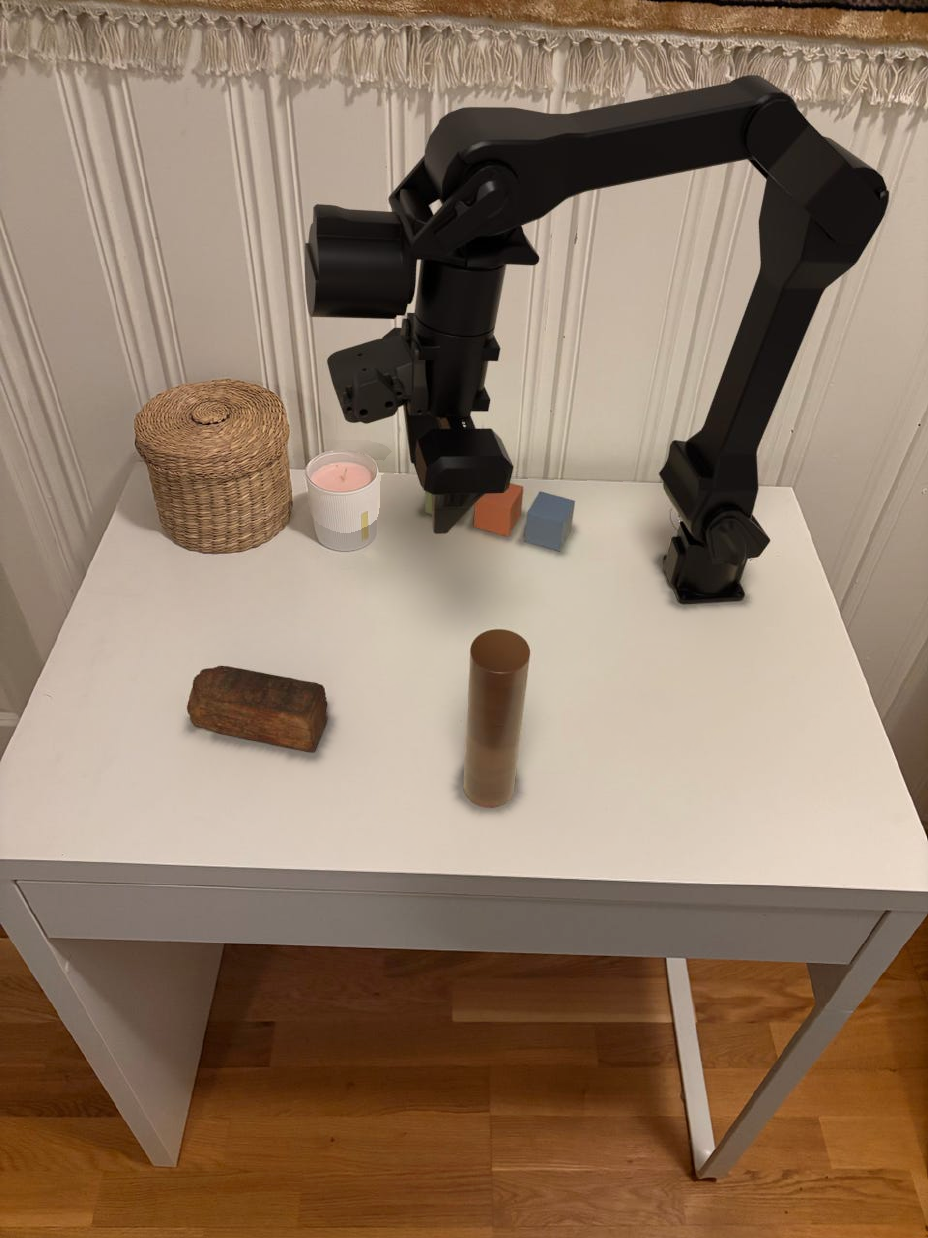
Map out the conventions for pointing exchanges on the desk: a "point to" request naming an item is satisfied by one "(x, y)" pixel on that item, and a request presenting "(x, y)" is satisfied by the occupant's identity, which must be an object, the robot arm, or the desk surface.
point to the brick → (259, 707)
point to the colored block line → (503, 510)
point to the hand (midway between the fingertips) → (428, 496)
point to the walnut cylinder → (494, 715)
